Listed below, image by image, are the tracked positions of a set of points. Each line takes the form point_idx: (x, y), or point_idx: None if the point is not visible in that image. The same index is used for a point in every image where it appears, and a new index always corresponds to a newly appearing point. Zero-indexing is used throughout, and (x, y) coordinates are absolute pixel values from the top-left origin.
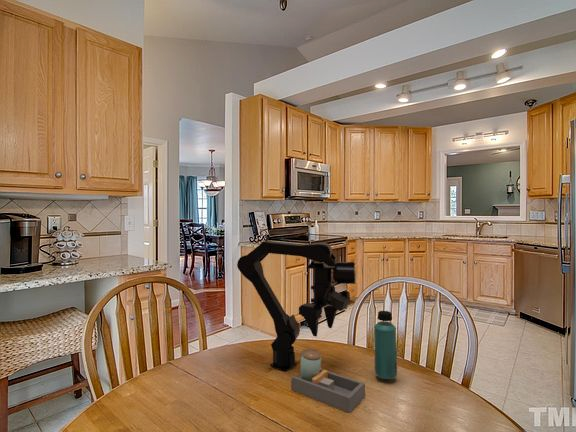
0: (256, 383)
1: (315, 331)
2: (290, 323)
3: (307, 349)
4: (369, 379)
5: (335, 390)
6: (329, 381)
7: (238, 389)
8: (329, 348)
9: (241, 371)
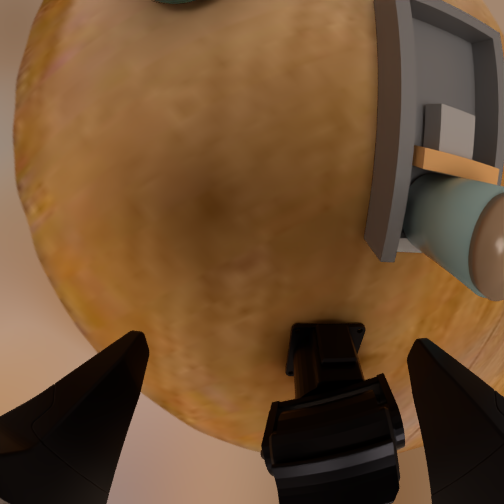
0: (444, 335)
1: (458, 368)
2: (394, 483)
3: (491, 291)
4: (234, 17)
5: (427, 97)
6: (454, 120)
7: (470, 342)
8: (96, 289)
9: (397, 390)
